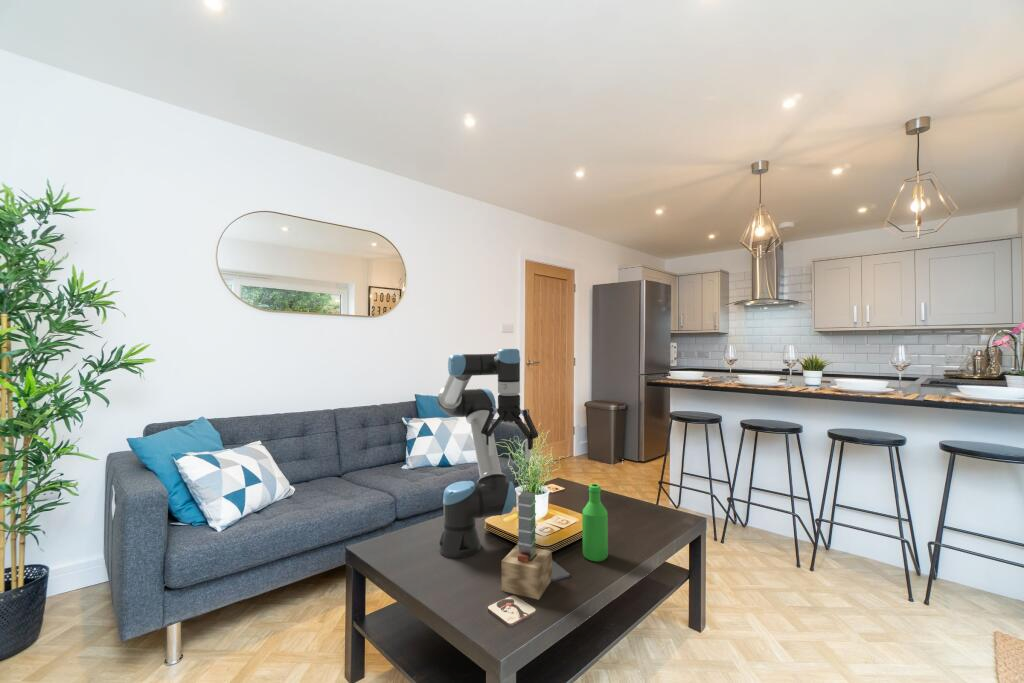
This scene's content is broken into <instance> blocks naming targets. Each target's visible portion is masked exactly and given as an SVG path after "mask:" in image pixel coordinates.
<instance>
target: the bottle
mask: <svg viewBox="0 0 1024 683" xmlns="http://www.w3.org/2000/svg"><path fill="white" fill-rule="evenodd" d="M588 491H589V494H588V495H589V497H588V499H589V500H588V501H587V503H586V505H585V506H584V507H583V508H582V510H581V511H582V513H581V517H582V519H581V520H582V521H581V522H582V523H581V524H582V530H581V531H582V555H583V557H584V558H586V560H588V561H591V562H603V561H605V560H606V559H607V558H608V557H609V537H608V536H609V535H608V534H609V523H608V521H609V520H608V519H609V517H608V513H609V512H608V510H607V508H606V507H605V506H604V505H603V503H602V501H601V491H602V489H601V486H600V485H599V484H597V483H592V484H590V485H588Z"/></svg>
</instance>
